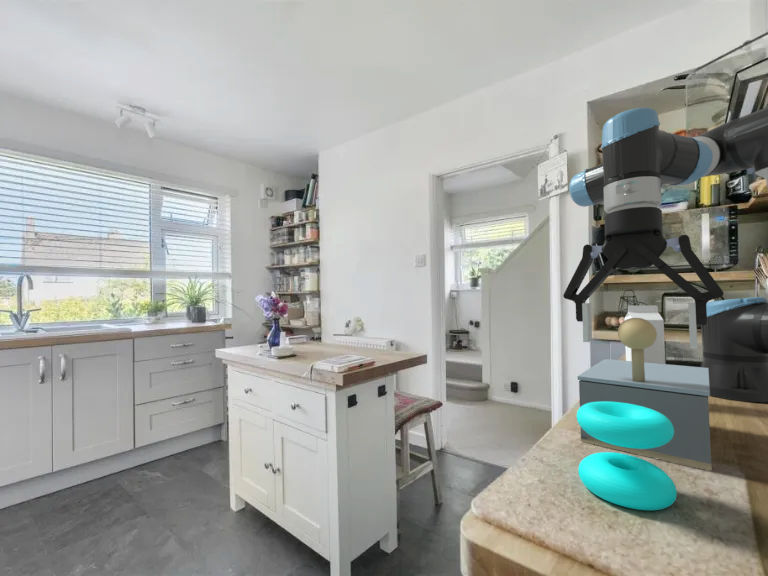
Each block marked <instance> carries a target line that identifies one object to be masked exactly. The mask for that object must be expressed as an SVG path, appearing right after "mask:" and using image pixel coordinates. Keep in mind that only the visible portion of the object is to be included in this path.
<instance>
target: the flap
mask: <svg viewBox="0 0 768 576" xmlns="http://www.w3.org/2000/svg"><path fill="white" fill-rule="evenodd" d="M617 336H618V339H619V340H620V342H621V344H623V345H624V346H627V347H629V348H631V356H632V361H626V360H620V359H607V358H604V359H602V360H601V361H600V362H597V363H596V364H595V365H593V366H591V367H590V368H588V369H586V370H585V371H584V372H582V373H580V374H579V375H577V381H580V380H584V381H592V382H600V383H608V384H615V385H623V386H631V387H639V388H647V389H655V390H663V391H671V392H679V393H687V394H695V395H703V396H708V397H711V395H710V387H709V371H708V368H703V367H701V366H689V365H679V364H678V365H677V364H667V363H665V364H657V363H645V362H644V349H646V348H648V347H650V346H652V345H653V344H654V342H655V340H656V337H657V332H656V329H655V327H654V326H653V325H652V324H651V323H650V322H649V321H647V320H645V319H642V318H630V319H627V320H625V321H624V320H623V322H621V323H620V325H619V326H618V329H617Z"/></svg>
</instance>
